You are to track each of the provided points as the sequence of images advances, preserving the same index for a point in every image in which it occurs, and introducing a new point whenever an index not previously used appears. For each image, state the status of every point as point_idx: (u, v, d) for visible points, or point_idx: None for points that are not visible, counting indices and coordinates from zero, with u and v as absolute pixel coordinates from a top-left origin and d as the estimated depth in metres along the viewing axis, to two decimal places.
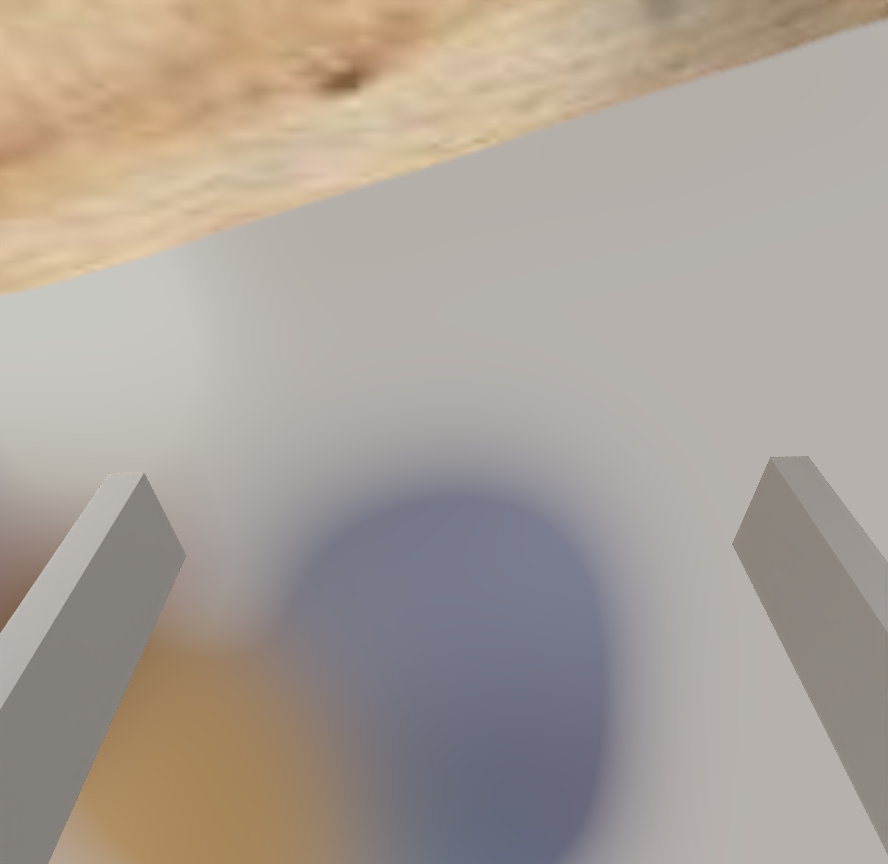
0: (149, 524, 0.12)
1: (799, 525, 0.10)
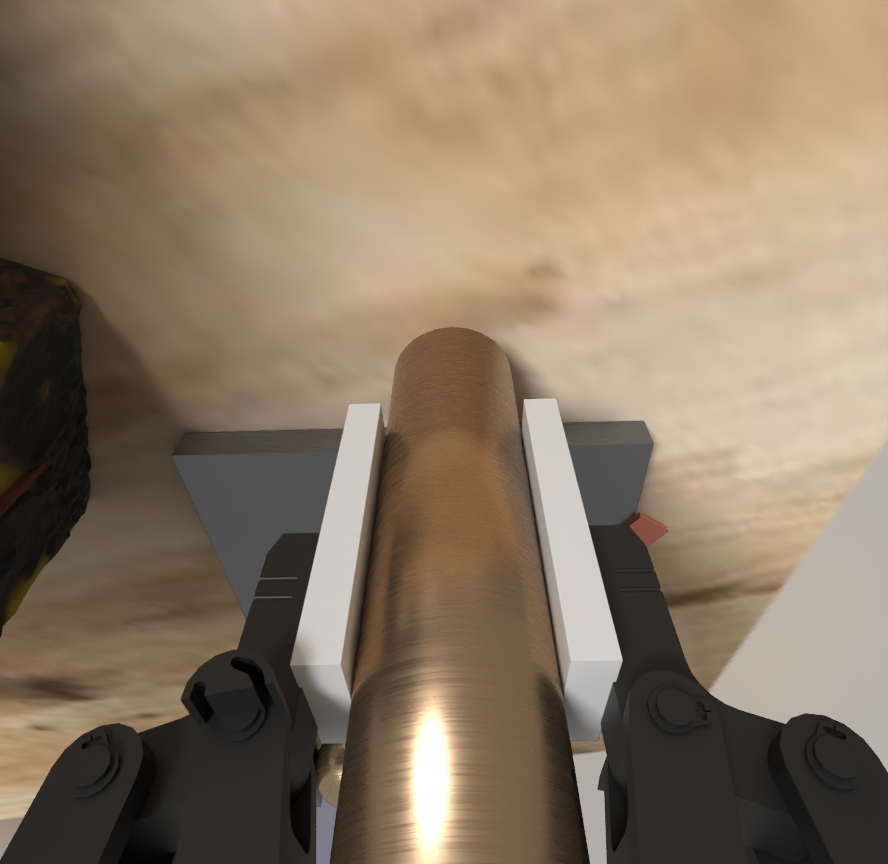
0: (382, 449, 0.13)
1: (529, 453, 0.12)
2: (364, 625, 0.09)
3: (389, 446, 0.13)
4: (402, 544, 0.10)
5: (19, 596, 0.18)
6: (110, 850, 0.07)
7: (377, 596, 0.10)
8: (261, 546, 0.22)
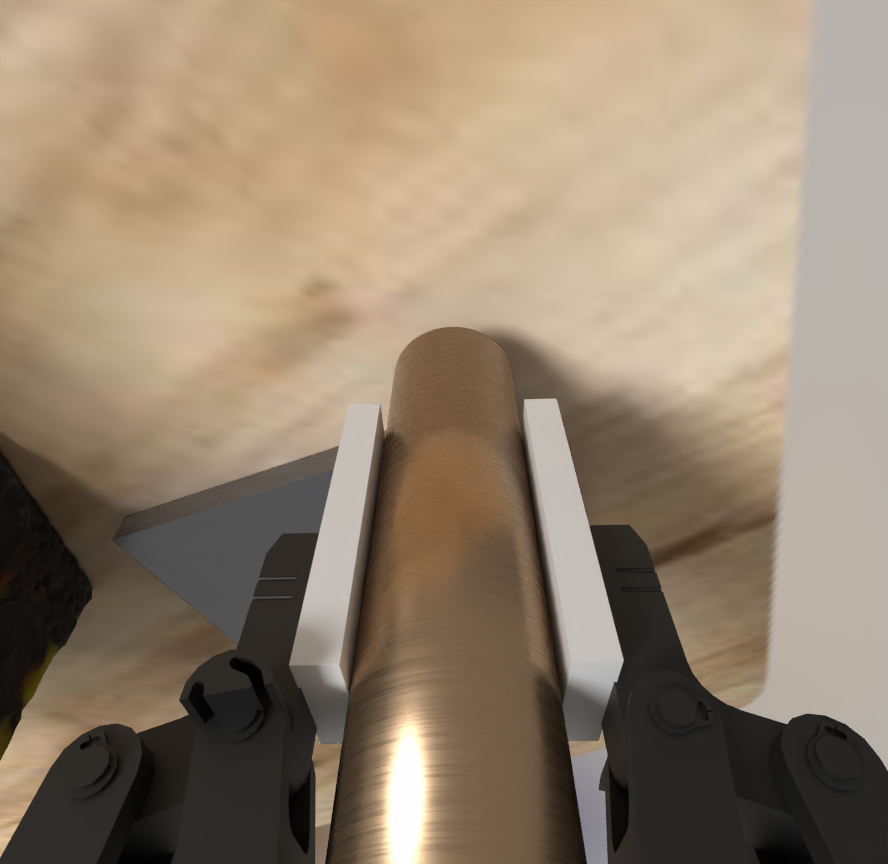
0: (382, 449, 0.13)
1: (530, 453, 0.12)
2: (361, 626, 0.09)
3: (387, 447, 0.13)
4: (398, 545, 0.10)
5: (34, 683, 0.22)
6: (109, 850, 0.07)
7: (373, 597, 0.10)
8: (228, 596, 0.24)
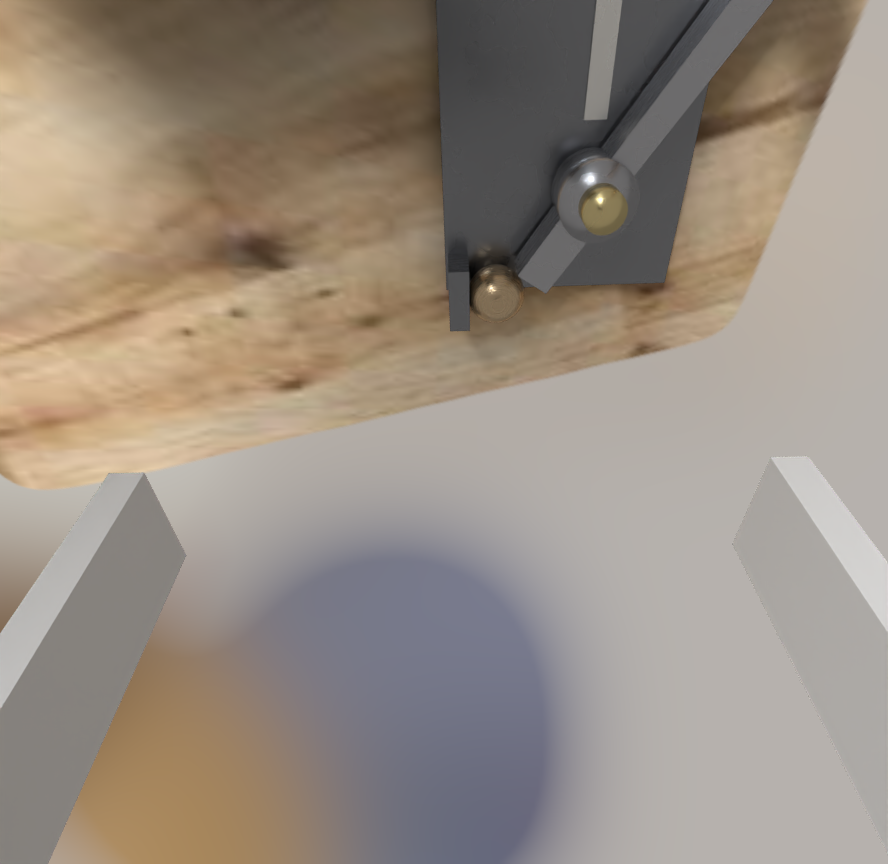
0: (149, 524, 0.12)
1: (799, 525, 0.10)
2: None
3: None
4: None
5: None
6: None
7: None
8: (470, 17, 0.32)
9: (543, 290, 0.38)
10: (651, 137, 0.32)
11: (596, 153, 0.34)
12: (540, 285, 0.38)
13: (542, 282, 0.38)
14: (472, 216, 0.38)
